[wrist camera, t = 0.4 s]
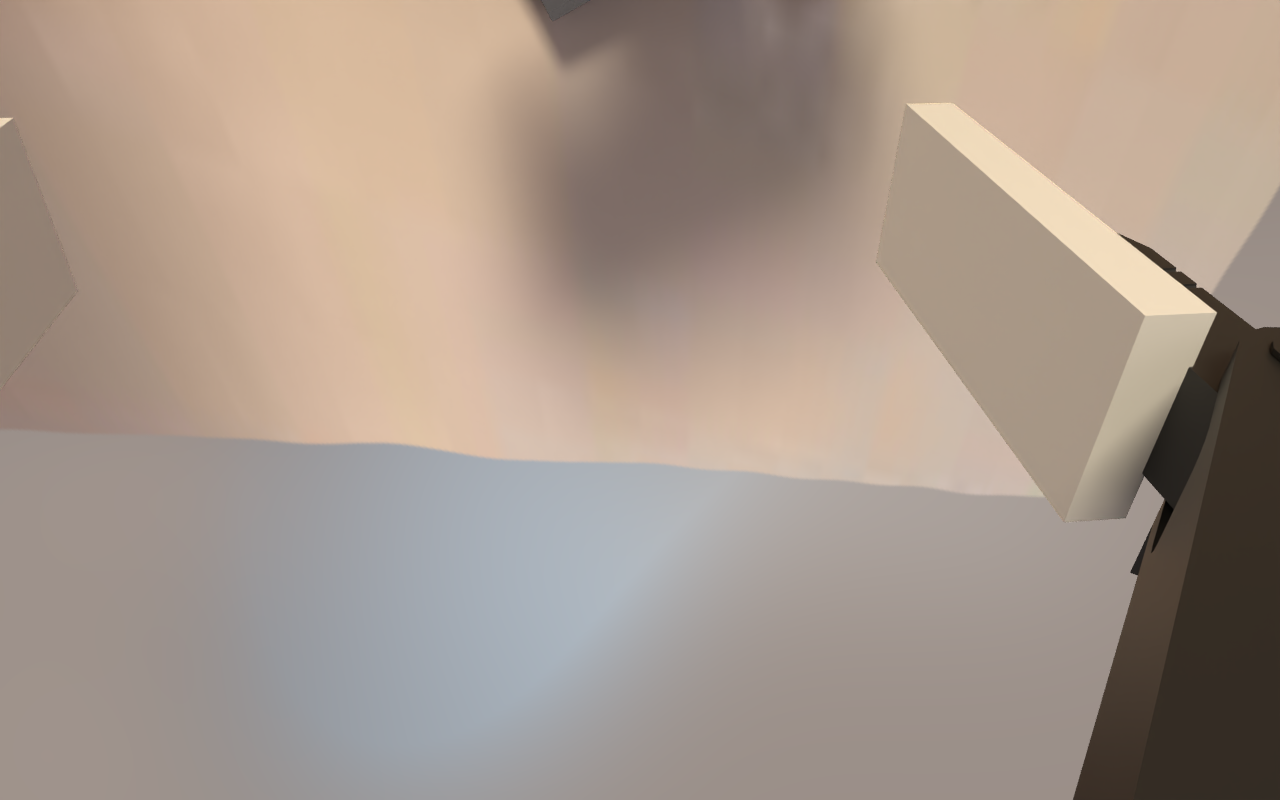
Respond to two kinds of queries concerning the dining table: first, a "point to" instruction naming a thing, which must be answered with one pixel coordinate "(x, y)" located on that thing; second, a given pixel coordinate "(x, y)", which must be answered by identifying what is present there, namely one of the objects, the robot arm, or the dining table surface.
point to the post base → (561, 7)
